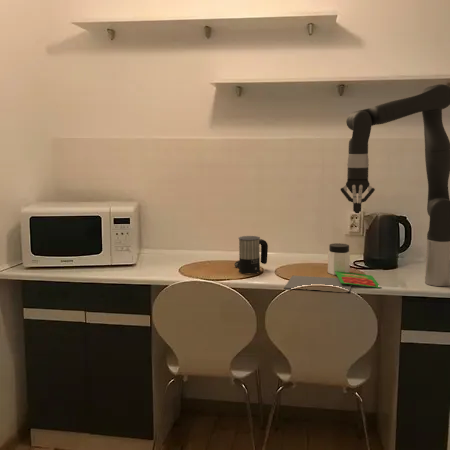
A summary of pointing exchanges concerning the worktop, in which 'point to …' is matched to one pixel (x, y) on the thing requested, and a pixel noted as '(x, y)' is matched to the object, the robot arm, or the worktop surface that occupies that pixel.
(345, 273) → the tomato puree packet
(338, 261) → the jar
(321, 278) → the mat
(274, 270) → the worktop surface
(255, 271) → the milk frother
